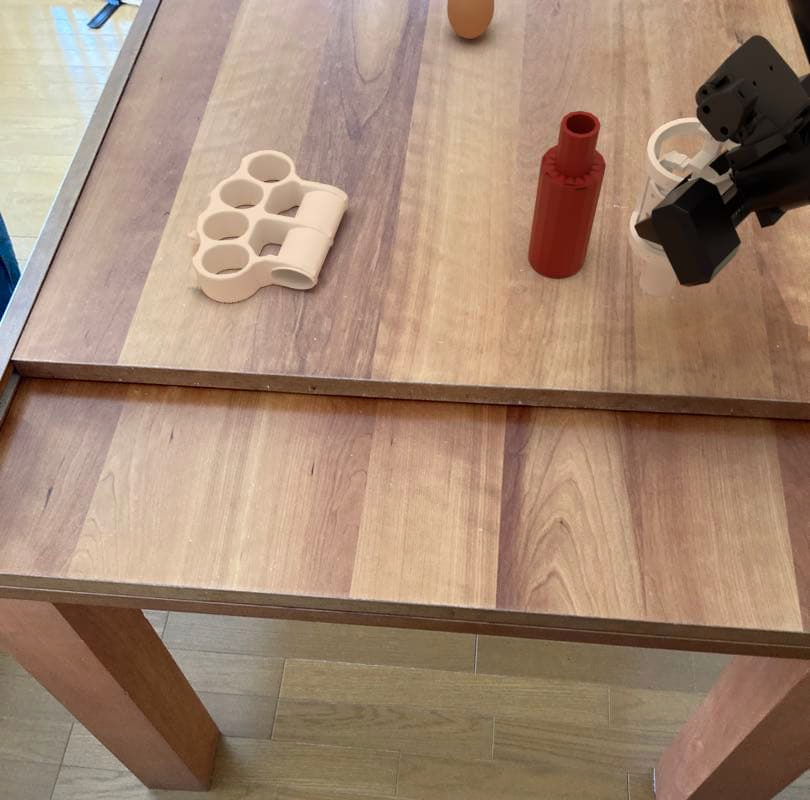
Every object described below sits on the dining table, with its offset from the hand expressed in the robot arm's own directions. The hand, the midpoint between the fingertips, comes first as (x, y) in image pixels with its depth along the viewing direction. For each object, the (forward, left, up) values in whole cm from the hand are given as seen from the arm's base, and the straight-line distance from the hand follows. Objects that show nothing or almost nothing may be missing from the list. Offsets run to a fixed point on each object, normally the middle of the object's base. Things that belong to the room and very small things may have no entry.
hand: (663, 206), depth 66 cm
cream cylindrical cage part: (-1, +1, -8) cm, 8 cm away
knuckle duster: (+33, -17, -13) cm, 40 cm away
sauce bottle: (+5, -9, -13) cm, 17 cm away
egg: (+6, -45, -13) cm, 47 cm away
